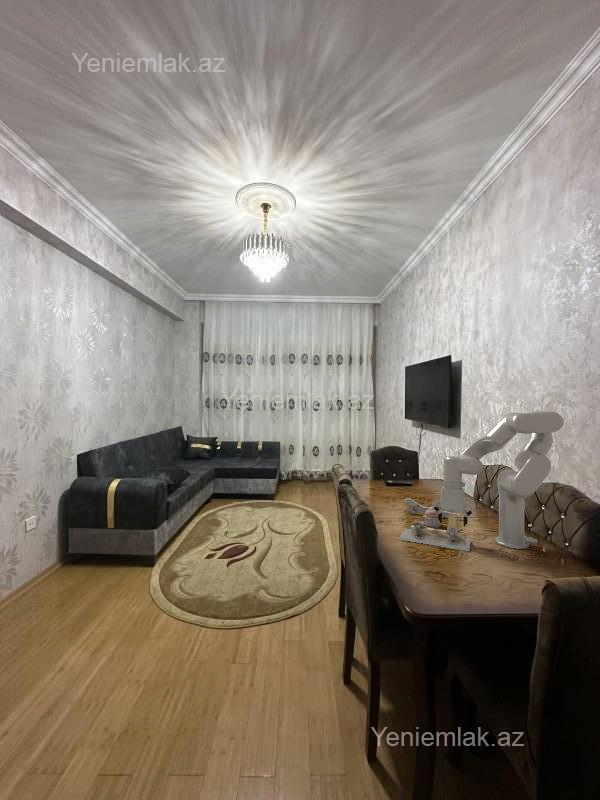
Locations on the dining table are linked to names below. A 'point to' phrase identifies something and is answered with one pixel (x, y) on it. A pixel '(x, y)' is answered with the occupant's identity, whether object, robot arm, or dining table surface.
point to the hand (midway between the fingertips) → (452, 523)
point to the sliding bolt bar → (435, 531)
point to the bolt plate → (435, 540)
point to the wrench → (424, 508)
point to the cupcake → (432, 518)
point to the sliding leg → (452, 526)
